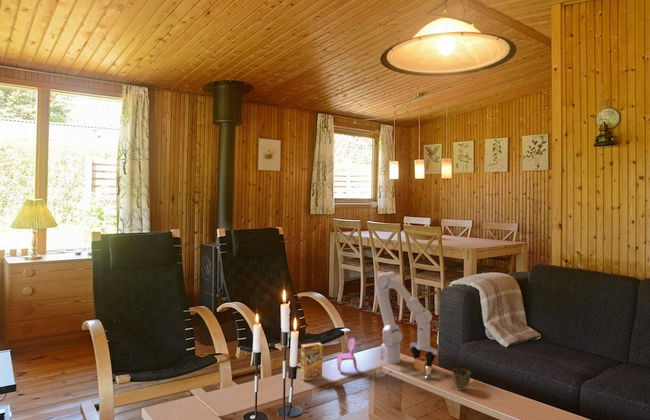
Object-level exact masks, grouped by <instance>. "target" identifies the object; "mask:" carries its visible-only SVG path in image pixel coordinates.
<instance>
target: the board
mask: <svg viewBox="0 0 650 420" xmlns="http://www.w3.org/2000/svg"><path fill="white" fill-rule="evenodd" d="M397 371H399V372H401V373H404V374H406V375H408V376H411V377H414V378H417V379H419V380H421V381H423V382H425V383H428V384H431V385H436V384H439V383H440V382H443V381H445V380H448V379H450V378H453V375H452V374H451V375H450V374H449V373H445V372H442V371H440V370H437V369H435V368H432V369H431V376H432V379H425V378H424V376H425V375H426V372H422V371H420V370H417V369H414V364H412V365H410V366H407V367H404V368H401V369H399V370H397Z"/></svg>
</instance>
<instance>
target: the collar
mask: <svg viewBox="0 0 650 420" xmlns="http://www.w3.org/2000/svg"><path fill="white" fill-rule="evenodd" d="M413 359H414V358H413ZM413 363H414V364H413V365H414V369H417V370H420V371H422V372H426V366H427V359H426V356H422V355H421V356H420V357H419V358H416V359H414V361H413ZM431 369H433V365H432V366H431Z"/></svg>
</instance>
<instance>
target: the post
mask: <svg viewBox="0 0 650 420" xmlns="http://www.w3.org/2000/svg"><path fill="white" fill-rule="evenodd" d="M424 378H425V379H432V376H431V366H426V375H425V376H424Z"/></svg>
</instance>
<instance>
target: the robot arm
mask: <svg viewBox="0 0 650 420" xmlns="http://www.w3.org/2000/svg"><path fill="white" fill-rule="evenodd" d="M375 283H376V284H375V293H376V298H377V303H378V306H379V311H380V314H381V318H382V322H383V326H384V327H383V328H382V342H383V343H382V344H381V345H380V347H379V348H380V349H379V351H380V353H379V357H380V358H379V360H378V361H379V362H380V361H384V362H385V363H388V364H399V363H400V362H401V341H402V340H403V338H404V335H403V333H402V331H401V329H400V326H399V325H398V324H396V321H395V317H394V314H393V310H392V306H391V301H390V297H389V294H388V292H389V290H390V289H393V290H395V291H396V292H397V293H398V295H400V296H401V298H403V300H404V301H405V306H406V307H407V308H408V310H409V312H411V313H412V315H413V316H414V320H415V322H416V324H417V325H416V326H417V332H416V333H417V335H416V336H417V340H416V341H417V342H413V341H412V342H409V347H410V353H412V356H413V359H416V358H419V357H421V353H422V351H424V352H427V353H424V355H425V357H426V359H427V366H432V367H433V363H434V359H435V358H436V356H437V355H438V350H439V349H436V348H434V347H432V346H431V321H432V320H433V314H432V313H431V311H430V310H429V309H426V308H425V307H424V306H423V305H422V303H420V300H419V298H416V297H415V296H414V297H413V296H412V295H411V294H410V293H409V291H408V290H407V288H406V287H405V285H404V284H403V283H402V281H401V278H400V277H399V276H398V275H397V274H396V272H395V271H392V270H390V271H387V272H384V273H383V272H382V273H380V274H378V275H377V277H376V278H375Z"/></svg>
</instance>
